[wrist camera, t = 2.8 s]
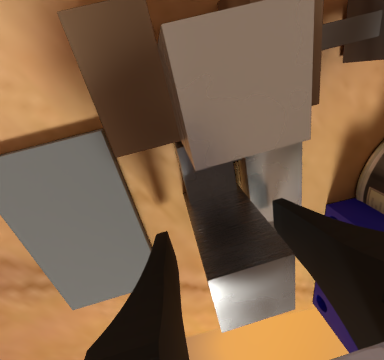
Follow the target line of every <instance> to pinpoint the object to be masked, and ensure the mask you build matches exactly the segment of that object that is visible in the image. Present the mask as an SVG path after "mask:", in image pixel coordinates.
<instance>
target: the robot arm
mask: <svg viewBox="0 0 384 360" xmlns="http://www.w3.org/2000/svg"><path fill="white" fill-rule="evenodd" d="M272 205H273V221H274V228H275V230H276V231H277V233H278V234H279V235H280V237H281V238H282V239H283V240H284V241H285V243H286V244H287V245H288V246H289V248H290V249H291V250H292V251H293V252H294V254H295V256H296V257H297V259H298V260H299V261H300V262H301V263H302V265H303V266H304V267H305V268H306V269H307V271H308V272H309V273H310V274H311V276H312V277H313V278H314V280H315V281H316V283H317V284H318V286H319V287H320V289H321V290H322V292H323V293H324V295H325V296H326V298H327V299H328V301H329V302H330V304H331V305H332V307H333V308H334V310H335V311H336V313H337V315H338V316H339V318H340V320H341V321H342V323H343V324H344V326H345V328H346V329H347V331H348V333H349V334H350V336H351V338H352V339H353V341H354V343H355V345H356V346H357V348H358V351H355V352H352V353H349V354H346V355H343V356H340V357H337V358H334V359H331V360H384V232H383V231H378V230H374V229H369V228H365V227H360V226H357V225H353V224H349V223H346V222H342V221H339V220H336V219H333V218H330V217H328V216H325V215H322V214H319V213H317V212H314V211H312V210H309V209H307V208H305V207H302V206H300V205H298V204H295V203H293V202H291V201H288V200H286V199H283V198H280V199H276V200H273V201H272ZM84 360H189V355H188V350H187V344H186V338H185V332H184V325H183V319H182V311H181V297H180V283H179V271H178V265H177V260H176V255H175V252H174V249H173V247H172V244H171V241H170V238H169V235H168V232H167V231H166V232H162V233H159V234H157V235H156V237H155V241H154V244H153V247H152V250H151V253H150V255H149V258H148V261H147V263H146V265H145V268H144V270H143V272H142V274H141V276H140V278H139V280H138V282H137V284H136V286H135V288H134V289H133V291H132V293H131V295H130V296H129V298H128V299H127V301H126V303H125V304H124V306H123V307H122V309H121V310H120V311H119V313H118V314H117V315H116V317H115V318H114V320H113V321H112V322H111V324H110V325H109V326H108V327H107V329H106V330H105V331H104V332H103V333H102V335H101V336H100V337H99V338H98V339H97V340H96V341H95V343H94V344H93V345H92V346H91V347H90V348H89V349H88V350H87V353H86V356H85V359H84Z"/></svg>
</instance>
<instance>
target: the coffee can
mask: <svg viewBox="0 0 384 360" xmlns="http://www.w3.org/2000/svg"><path fill="white" fill-rule="evenodd" d="M356 199H357V200H359V201H362V202H363V203H365V204H367V205H369V206H370V207H372V208H374V209H375V210H377V211H379V212H381V213H382V214H384V140H383V142H382V143H381V144H380V145H379V146H378V147H377V149H376V150H375V151H374V152H373V154H372V155H371V156H370V158H369V159H368V161H367V163H366V165H365V167H364V168H363V170H362V173H361V175H360V178H359V181H358V184H357V188H356Z"/></svg>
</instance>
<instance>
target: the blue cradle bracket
mask: <svg viewBox="0 0 384 360" xmlns="http://www.w3.org/2000/svg"><path fill="white" fill-rule="evenodd" d="M325 216H328V217H330V218H333V219H336V220H339V221H342V222H346V223H349V224H353V225H357V226H360V227H365V228H369V229H374V230H378V231H383V232H384V214H382V213H381V212H379V211H377V210H375V209H374V208H372V207H370V206H369V205H367V204H365V203H363V202H362V201H359V200H357V199H356V198H352V199H348V200H344V201H340V202H335V203H331V204H327V205H326V212H325ZM313 304H314V305H315V307H316V308H317V309H318V311H319V312H320V313H321V315H322V316H323V317H324V319H325V320H326V322H327V323H328V324H329V326H330V327H331V329H332V330H333V331H334V333H335V334H336V335H337V336H338V338H339V339H340V341H341V342H342V344H343V345H344V346H345V348H346V349H347V350H348V352H349V353H352V352H355V351H358V348H357V346H356V345H355V343H354V341H353V339H352V338H351V336H350V334H349V333H348V331H347V329H346V328H345V326H344V324H343V323H342V321H341V320H340V318H339V316H338V315H337V313H336V311H335V310H334V308H333V307H332V305H331V304H330V302H329V301H328V299H327V298H326V296H325V295H324V293H323V292H322V290H321V289H320V287H319V286H318V284H317V283H315V290H314V297H313Z"/></svg>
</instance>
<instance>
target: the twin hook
mask: <svg viewBox="0 0 384 360" xmlns="http://www.w3.org/2000/svg"><path fill="white" fill-rule="evenodd" d="M313 34H314V0H263V1H259V2H255V3H250V4H246V5H242V6H238V7H233V8H229V9H225V10H220V11H216V12H212V13H207V14H203V15H199V16H195V17H190V18H186V19H182V20H177V21H173V22H169V23H164V24H161V28H160V34H159V39H158V44H157V47H158V51H159V55H160V59H161V63H162V67H163V71H164V75H165V79H166V83H167V87H168V91H169V95H170V99H171V103H172V107H173V111H174V115H175V119H176V123H177V127H178V131H179V135H180V139H181V142H182V144H183V146H184V148H185V150H186V152H187V154H188V156H189V159H190V161H191V163H192V165H193V167H194V169H195V171H197V170H201V169H204V168H208V167H212V166H215V165H219V164H223V163H226V162H230V161H234V160H237V159H241V158H242V160H239V161H238V163H239V171H240V178H241V186H242V190H243V192H244V193H245V194H246V195H247V197H248V198H249V199H250V200H251V201H252V203H253V204H254V205H255V206H256V207H257V209H258V210H259V211H260V212H261V214H262V215H263V216H264V217H265V218H266V220H267V221H268V222H269V223H270V224H271V226H272V227H273V228H274V221H273V205H272V201H273V200H276V199H280V198H283V199H286V200H288V201H291V202H293V203H295V204H298V205H300V206H301V202H302V142H303V141H306V140H310V138H311V104H312V69H313ZM274 229H275V228H274ZM275 231H276V230H275ZM276 232H277V231H276Z"/></svg>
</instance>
